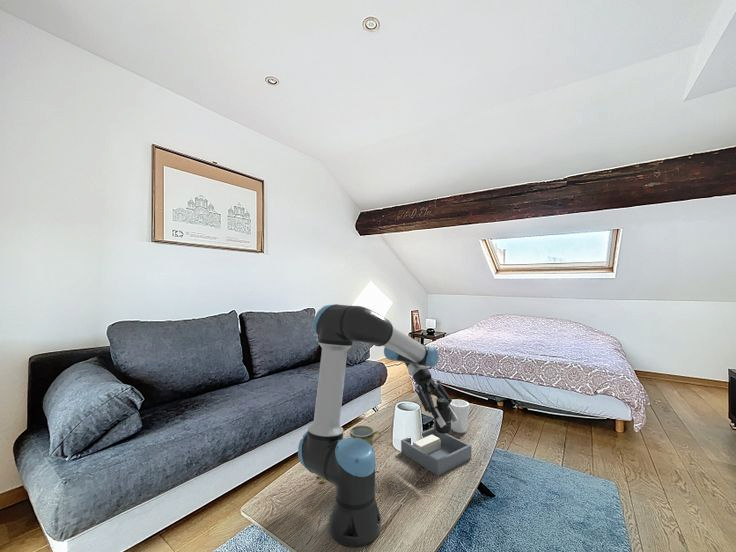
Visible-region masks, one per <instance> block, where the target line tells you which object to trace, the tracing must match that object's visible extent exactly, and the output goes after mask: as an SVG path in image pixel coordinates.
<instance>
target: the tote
mask: <svg viewBox="0 0 736 552" xmlns="http://www.w3.org/2000/svg"><path fill="white" fill-rule="evenodd" d="M421 432H422V436H423V438H425V437H427V436H429V435H434V436H436V437H438V438H440V441H441V448H440V449H438V450H436V451H433V452H431V453H429V454H427V453H425V452H423V451H422V450H420V449H418V448H417V447H415V446H413V445H411V438H408V437H406V438H403V439H400V453H402V454H403V455H404V456H406V457H407V458H409V459H411V460H412V461H414V462H415V463H417V464H419V465H420V466H421V467H423V468H424V469H426V470H428V471H429V472H430V473H432V474H434V475H436V476H438V477H439V476H441V475H444V473H446V472H448V471H450V470H452V469H454V468H455V467H457V466H460V465H461V464H463V463H465V462H466V461H469V460H471V459H472V445H471V444H469V443H467V442H466V441H463V440H461V439H459V438H456V437H455V436H453V435H450V434H449V433H447V434H441V433H438V432H436V431H435V430H434V426H433V427H431V428H429V429H427V430H426V429H425V430H423V431H421Z"/></svg>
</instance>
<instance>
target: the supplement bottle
mask: <svg viewBox="0 0 736 552" xmlns="http://www.w3.org/2000/svg"><path fill="white" fill-rule="evenodd" d="M435 402H436V403H435V405H434V407H435V409H436V408H437V410H438V411H439V413H440V415H441V416H442V418H443V420H444V422H445V423H446V425H444V426H443V427H442V428H441V427H440V425H439V424H438V422H437V420H436V419H435V418H434V417H433V427H434V430H435V431H436V432H438V433H441V434H449V433H451V432H452V422H451V408H450V407H449V401H448V400H447V399H444V398H439V399H438V398H437V399H436V401H435Z"/></svg>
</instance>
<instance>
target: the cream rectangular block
mask: <svg viewBox="0 0 736 552" xmlns="http://www.w3.org/2000/svg"><path fill="white" fill-rule="evenodd" d="M413 446H415V447H417V448H418V449H420V450H422V451H423V452H425V453H427V454H429V453H431V452H433V451H436V450H438V449H440V448H441V441H440V438H438V437H436V436H434V435H429V436H427V437H425V438H422V439H420V440H417V441H415V442H413Z"/></svg>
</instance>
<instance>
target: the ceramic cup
mask: <svg viewBox="0 0 736 552" xmlns="http://www.w3.org/2000/svg"><path fill="white" fill-rule="evenodd" d="M377 434H379V436H378V438H376V439H375V440H374V441H373V438H374V437H375V435H377ZM349 435H350V436H349V437H353V438H360V439H363V440H365V441H367V442H368V443H369V444H370V445H371V446H372V447H373V446H374V444H375V443H376V442H377V441H378V440H379V439H381V435H382V434H381V432H380V431H377V430H376V431H375V430H374V428H373V427H371V426H369V425H364V424H362V425H361V424H360V425H356V426H353V427H351V428H350V429H349Z"/></svg>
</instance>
